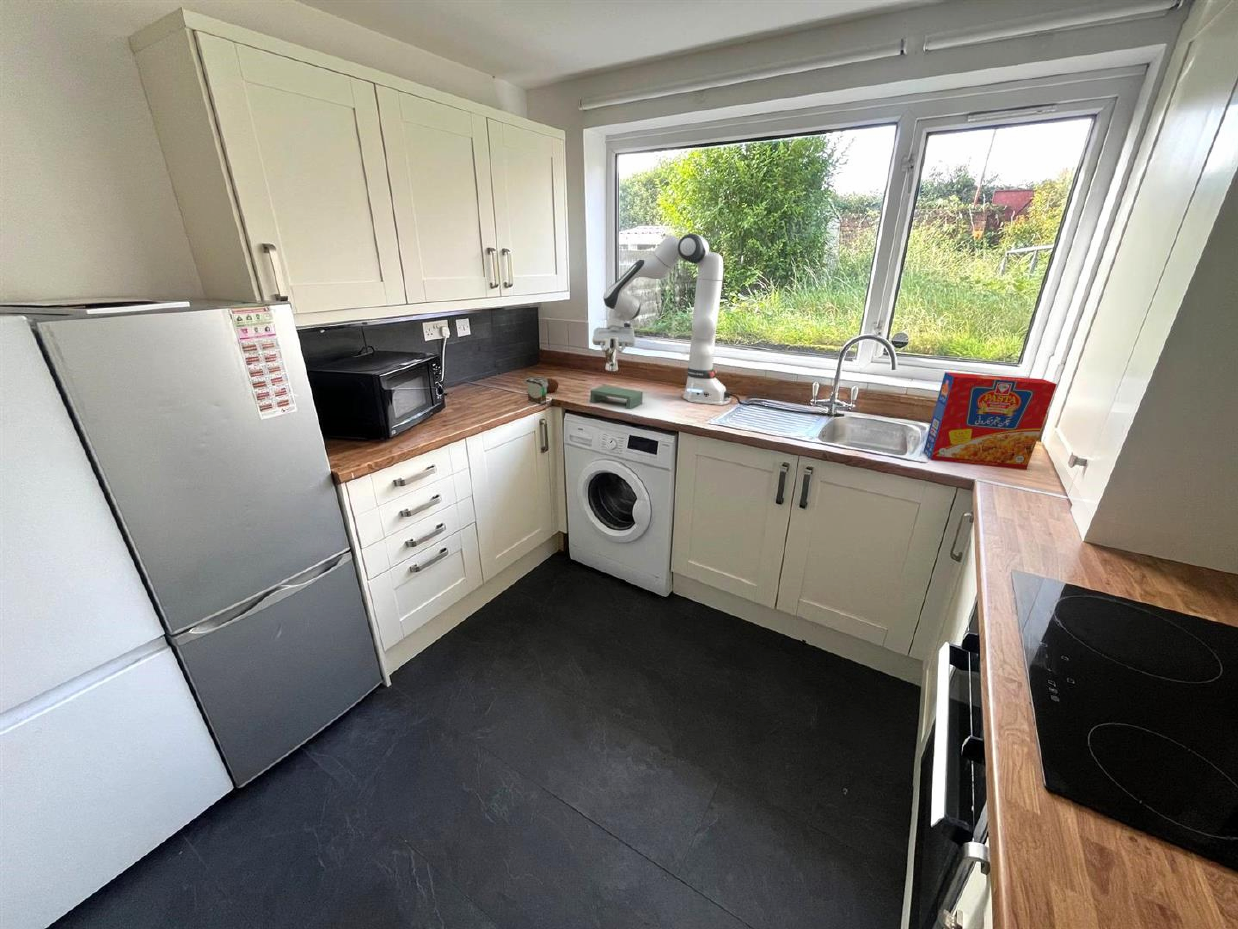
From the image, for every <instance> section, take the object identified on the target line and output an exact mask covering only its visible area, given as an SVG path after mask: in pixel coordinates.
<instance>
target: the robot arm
mask: <svg viewBox="0 0 1238 929" xmlns="http://www.w3.org/2000/svg"><path fill="white" fill-rule="evenodd" d="M682 259H683V260H684V261H685V262H689V263H691V264H694V265H696V267H697V275H696V284H695V285H696V286H695V295H694V296H695V297H694V301H693V303H694V304H693V312H692V318H691V319H692V320H691V336H690V337H691V338H690V347H689V358H688V367H687V370H686V384H685V388H684V392H683V394H682V398H683V399H684V400H687V401H688V402H690V403H698V404H706V405H707V404H708V405H717V406H725V405H728V404H730V402H731V401H732V399H731V397H733V398H735V399H736V400H737V403H738V404H740V405H741V406H742V405H743V406H758V407H763V408H767V409H771V410H776V411H781V412H787V413H794V414H805V415H806V414H807V415H817V416H818V415H820V416H831V415H830V414H828V413H829V412H819V411H817V412H816V411H804V410H794V409H787V408H782V407H776V406H771V405H767V406H765V405H766V404H762V403H756V402H748V403H745V402H742V401H741V399H740V397H739V396H737V395H736V394H733V393H732V390H727V387H726V386H725V385H724V384H723V383H722V382H721V381H719V379H718V378H716V377H717V372H718V371H717V370H715V369H713V367H714V357H715V348H716V334H717V329H718V321H719V314H720V313H719V312H720V304H721V296H722V295H721V294H722V288H723V287H722V286H723V280H724V279H723V278H724V260H723V257H722V255H721V254H720V253H718V252H714V251H711V243H710V241H709V240H708V239H707V238H706V237H704V236H702V235H700V234H697V233H687V234H685V235H683V236H682V237H681V238H680V237H678V236H677V235H673V234H671V235H668V236H666V237H665V238H664V239H663V240H662V241H661V242H660V243H659V244H658V245H657V247H656V248H655V249H654V251H653V252H652V253H651V254H650V255H649V256H647V257H646V258H644V259H639V260H636V262H635V263H634V264H633V265H631V266H630V267H629V269H627V270H626V271H625V272H624V274H622V276H620V277H619V278H618V279H617V280H616V281H615V282H614V283H613V284H612V285H610V286H609V287H608V288H607V289H606V290H605V292H604V294H603V302H604V305H605V306H606V307H607V308H609V313H608V320H607V323H606V327H597V328H594V330H593V335H592V339H591V340H592V344H593V345H594V346H600V348H601V353H605V337H619V354H623V351H624V350H625V349H626V348H627V347H629V348H633V347H634V346H636V337H635V336H636V335H635V330H634V325H633V324H631V323H629V321H632V320H634V319H636V318H637V317H638V316H639V315H640V313H641V301H640V300H639V299H638V298H637V297H635V296H633V295H631V294H630V293H628V292H627V291H625V289H627V287H628V286H629V285H630V284H631V283H633V282H634V280H636V279H639V278H648V279H652V280H661V279H664V278H665V277H667V276H668V275H669V273H670V272H671V271H672V270H673V268H674V267H675V265H676V264H677V263H678V262H679V261H681V260H682ZM833 416H835V417H844V416H845V413H836V414H834V415H833Z"/></svg>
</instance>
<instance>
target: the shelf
mask: <svg viewBox="0 0 1238 929" xmlns="http://www.w3.org/2000/svg"><path fill="white" fill-rule="evenodd" d="M589 395H590V401H589V402H590V403H593V404H595V403H597V402H600V401H602V400H605V399H607V398H608V397H609V398H616V399H622V400H625V402H626V404H625V405H626V406H625V409H626V410H632V409H633V408H635V407H638V406H641V405H642V404H643V395H644V391H641V390H635V389H630V388H623V387H617V386H611V385H601V386H599V387H596V388H592V389H590V394H589Z"/></svg>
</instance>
